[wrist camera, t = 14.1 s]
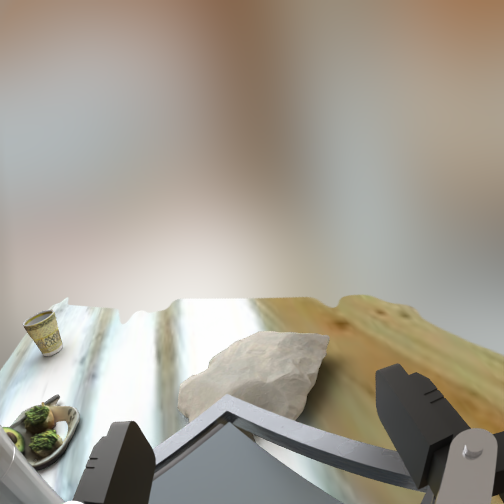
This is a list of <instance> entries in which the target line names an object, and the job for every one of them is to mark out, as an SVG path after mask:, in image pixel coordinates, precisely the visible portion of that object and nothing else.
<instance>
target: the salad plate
mask: <svg viewBox="0 0 504 504" xmlns="http://www.w3.org/2000/svg"><path fill="white" fill-rule="evenodd" d="M59 398H60V396H59V395H55V396H53V397H52V398H51V399H49V400H48V401H46V402H45V403H44V402H42V405H37V406H33V407H31V408H29V409H27V410H25V411H23V412H22V413H21V414H20V415H19V416H18V418H17V419H16V420H15V421H14V423H13V424H12V425H11V426H10V427H2V428H3V429H4V431H5V432H6V434H7V435H8V436H9V438H10V439H11V440H12V442H13V443H14V444H15V446H16V447H17V448H18V449H19V451H20V452H21V453H22V455H23V456H24V457H25V458H26V459H27V461H28V462H29V463H30V464H31V465H32V467H33V468H34V469H35V470H39V469H43V468H46V467H48V466H50V465H51V464H53V463H54V462H55V461H57V460H58V458H59V457H60V456H61V455H62V454H63V453H64V451H65V450H66V448H67V445H68V443H69V442H70V440H71V438H72V436H73V434H74V432H75V429H76V427H77V424H78V423H79V413H78V411H77V409H76V408H74V407H71V406H56V403H57V401H58V400H59ZM59 421H66V422H67V424H68V433H67V436H66V438H65V440H64V441H63V442H62V439H61V438H60V436H59V435H57V434H56V430H53V428H54V427H55V426H56V422H59Z"/></svg>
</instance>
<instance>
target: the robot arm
mask: <svg viewBox="0 0 504 504" xmlns="http://www.w3.org/2000/svg"><path fill="white" fill-rule="evenodd" d="M376 408H377V412H378V416H379V418H380V421H381V422H382V424H383V426H384V428H385V430H386V431H387V433H388V435H389V437H390V439H391V441H392V442H393V444H394V446H395V448H396V450H397V452H398V453H399V455H400V457H401V459H402V461H403V463H404V465H405V466H406V468H407V470H408V472H409V474H410V476H411V478H412V479H413V481H414V483H415V485H416V487H417V489H418V490H419V489H421V488H423V487H425V486H427V485H429V487H430V489H431V491H432V492H433V494H434V495H433V498H432V501H431V504H490V503H491V497H492V496H495V495H498V494H499V496H500V497H501V499H502V501H503V503H504V431H503V432H500V433H496V434H491V433H490V432H488V431H487V430H484V429H478V428H474V429H471V428H470V427H469V426H468V425H467V424H466V422H465V421H464V420H463V419H462V417H461V416H460V415H459V414H458V413H457V411H456V410H455V409H454V408H453V407H452V405H451V404H450V403H449V402H448V401H447V399H446V398H444V396H443V395H442V393H441V392H440V391H439V390H437V388H436V386H435V385H434V384H433V383H432V382H431V381H430V379H429V378H427V377H425V376H423V375H421V374H419V373H417V372H416V373H413V374H411V375H408V374H407V373H406V371H405V370H404V369H403V368H402V366H401V365H400V364H398V363H397V364H394V365H391V366H389V367H386V368H383V369H380V370H377V371H376ZM89 458H90V460H88V462H87V465H86V469H85V470H84V472H83V475H82V477H81V480H80V482H79V485H78V487H77V490H76V493H75V495H74V498H73V500H72V501H69V502H65V501H64V500H63V499H62V498H61V497H60V496H59V495H58V494H57V493H56V492H55V491H54V490H53V489H52V488H51V487H50V486H49V485H48V484H47V482H46V481H45V480H44V479H43V478H42V477H41V476H40V475H39V474H38V472H37V471H36V470H35V469H34V468H33V467H32V465H31V464H30V463H29V462H28V461H27V459H26V458H25V457H24V456H23V455H22V453H21V452H20V451H19V449H18V448H17V447H16V446H15V444H14V443H13V442H12V440H11V439H10V438H9V436H8V435H7V434H6V432H5V431H4V429H3V428H2V427H1V425H0V504H148V503H149V497H150V492H151V487H152V482H153V477H154V472H155V467H156V458H155V453H154V451H153V449H152V447H151V446H150V444H149V442H148V441H147V439H146V438H145V436H144V434H143V433H142V431H141V429H140V428H139V426H138V424H137V423H136V422H134V421H126V422H113V423H112V424H111V426H110V429H109V431H108V434H107V436H106V437H102V438H101V439H100V440H99V441H98V443H97V444H96V445H95V446H94V447H93V450H92V452H91V455H90V457H89Z"/></svg>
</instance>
